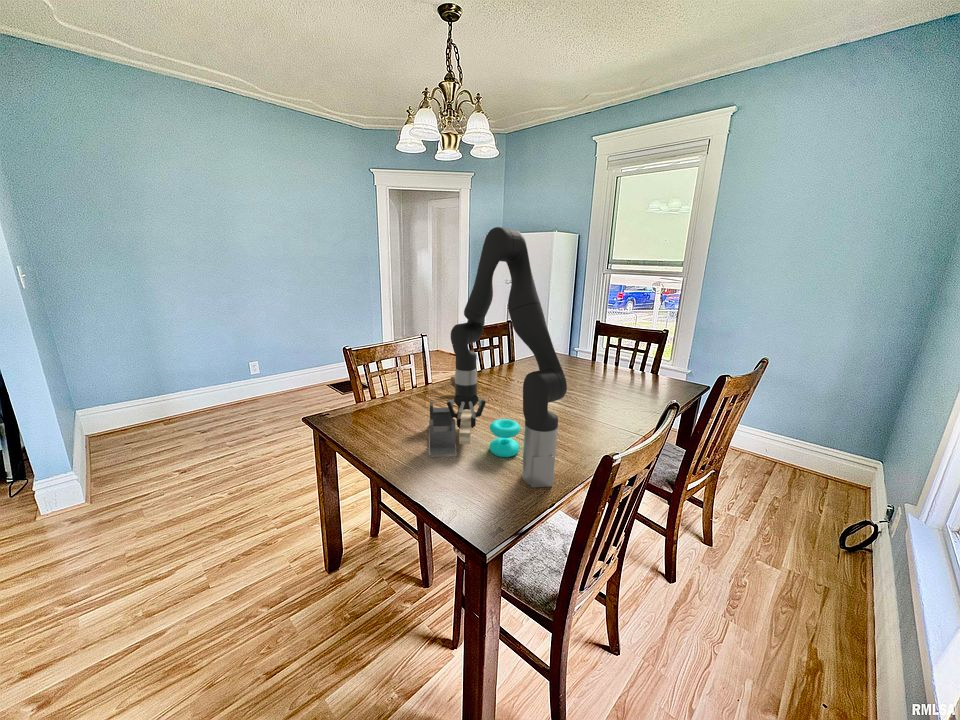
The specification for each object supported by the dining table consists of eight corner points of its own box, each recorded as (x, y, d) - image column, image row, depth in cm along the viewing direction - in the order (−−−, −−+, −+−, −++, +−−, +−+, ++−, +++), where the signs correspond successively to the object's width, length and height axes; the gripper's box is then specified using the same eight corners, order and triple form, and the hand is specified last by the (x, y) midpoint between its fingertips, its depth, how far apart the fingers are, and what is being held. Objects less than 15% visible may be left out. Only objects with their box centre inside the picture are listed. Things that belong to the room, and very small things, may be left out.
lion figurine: (447, 395, 177) (447, 377, 175) (453, 392, 182) (453, 374, 180) (476, 400, 172) (476, 381, 169) (481, 397, 176) (481, 378, 174)
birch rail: (470, 444, 124) (470, 432, 123) (459, 444, 124) (459, 432, 123) (471, 417, 145) (472, 407, 144) (462, 417, 145) (462, 407, 144)
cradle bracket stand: (456, 456, 124) (456, 426, 121) (428, 457, 123) (428, 427, 120) (453, 424, 147) (452, 399, 144) (429, 425, 146) (428, 399, 143)
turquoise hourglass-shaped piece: (513, 416, 131) (525, 428, 122) (512, 442, 134) (523, 456, 125) (486, 419, 129) (495, 432, 119) (485, 446, 131) (494, 460, 122)
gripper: (445, 385, 126) (446, 433, 130) (488, 383, 127) (487, 431, 132) (444, 378, 133) (445, 424, 137) (485, 377, 135) (484, 422, 139)
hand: (466, 427), depth 135 cm, fingers closed on birch rail, 3 cm apart
